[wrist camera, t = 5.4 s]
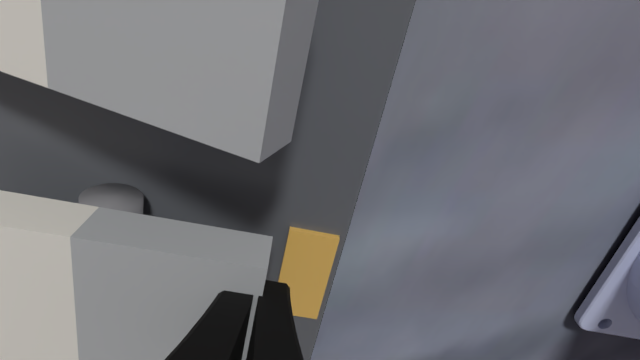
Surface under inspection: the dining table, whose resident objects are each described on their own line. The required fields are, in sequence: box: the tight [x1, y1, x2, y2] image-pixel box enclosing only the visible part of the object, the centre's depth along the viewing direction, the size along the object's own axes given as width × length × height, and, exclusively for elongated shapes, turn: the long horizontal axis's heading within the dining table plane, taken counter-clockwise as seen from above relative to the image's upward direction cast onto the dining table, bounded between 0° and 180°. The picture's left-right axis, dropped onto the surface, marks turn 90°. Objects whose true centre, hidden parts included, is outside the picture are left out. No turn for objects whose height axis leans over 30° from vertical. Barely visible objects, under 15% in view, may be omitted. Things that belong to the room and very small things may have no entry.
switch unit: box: [0, 0, 416, 360], centre depth 12 cm, size 12×20×3 cm, turn 168°
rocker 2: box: [0, 183, 273, 360], centre depth 10 cm, size 8×4×3 cm, turn 78°
